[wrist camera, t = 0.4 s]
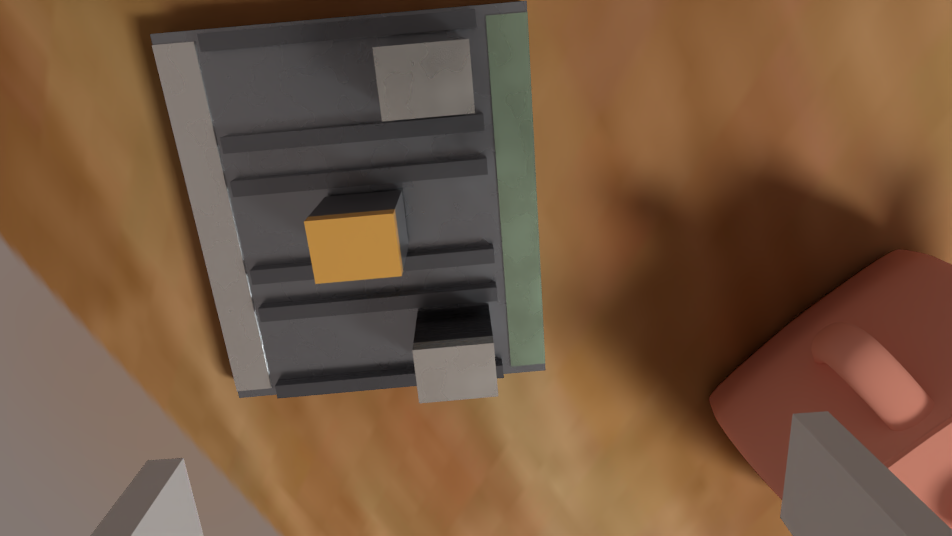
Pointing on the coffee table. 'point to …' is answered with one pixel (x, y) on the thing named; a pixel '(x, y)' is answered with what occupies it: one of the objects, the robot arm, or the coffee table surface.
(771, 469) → the teapot
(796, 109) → the coffee table surface
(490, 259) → the panel
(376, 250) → the breaker
